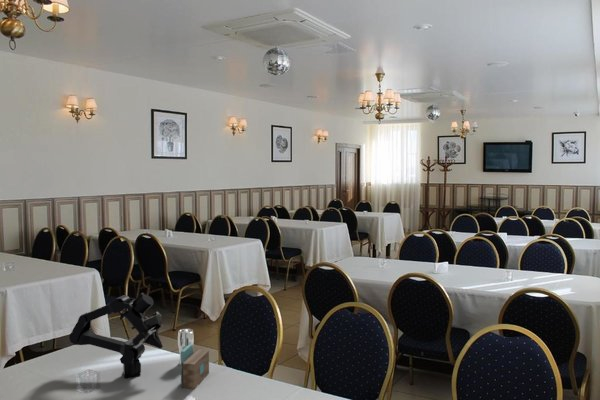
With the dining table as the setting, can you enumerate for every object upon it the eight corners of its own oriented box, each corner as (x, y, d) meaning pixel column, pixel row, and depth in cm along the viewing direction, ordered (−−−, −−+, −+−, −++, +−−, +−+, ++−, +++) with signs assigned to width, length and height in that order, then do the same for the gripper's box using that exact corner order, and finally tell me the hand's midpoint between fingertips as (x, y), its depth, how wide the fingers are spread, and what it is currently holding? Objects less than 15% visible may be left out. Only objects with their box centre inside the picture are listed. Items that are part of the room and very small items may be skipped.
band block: (181, 387, 208) (181, 363, 208) (196, 372, 224) (196, 349, 223) (194, 388, 207) (194, 364, 207) (209, 373, 223) (208, 350, 222)
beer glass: (190, 367, 230) (189, 333, 229) (175, 365, 231) (175, 332, 230) (196, 361, 236) (196, 329, 236) (182, 360, 238) (181, 328, 237)
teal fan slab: (181, 382, 212) (180, 351, 211) (189, 373, 221) (189, 343, 220) (197, 383, 211) (197, 352, 210) (205, 375, 219) (205, 345, 219)
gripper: (139, 313, 209) (165, 342, 208) (159, 302, 227) (183, 328, 226) (121, 331, 210) (146, 360, 209) (142, 318, 229) (166, 345, 228)
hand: (161, 347), depth 218 cm, fingers closed
